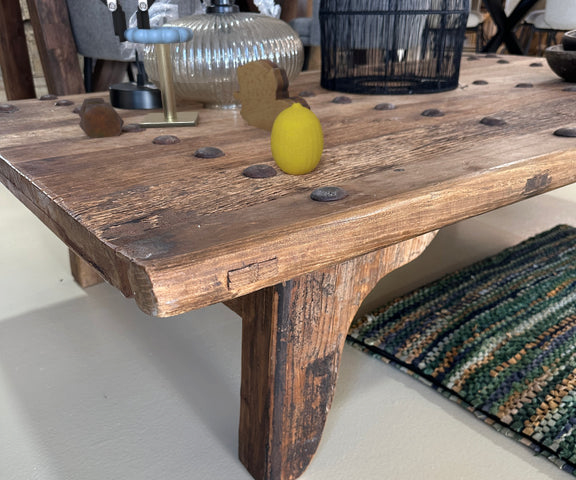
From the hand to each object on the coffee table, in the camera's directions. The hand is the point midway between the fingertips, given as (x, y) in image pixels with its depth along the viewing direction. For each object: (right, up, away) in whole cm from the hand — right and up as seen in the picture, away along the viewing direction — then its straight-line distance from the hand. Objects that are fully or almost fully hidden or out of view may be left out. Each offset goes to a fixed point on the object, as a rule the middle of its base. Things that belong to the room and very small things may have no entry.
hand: (133, 40), depth 82 cm
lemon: (+23, -24, -21) cm, 39 cm away
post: (+4, -11, +6) cm, 13 cm away
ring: (+4, +1, 0) cm, 4 cm away
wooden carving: (+20, -14, -1) cm, 24 cm away
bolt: (-5, -13, +2) cm, 14 cm away
